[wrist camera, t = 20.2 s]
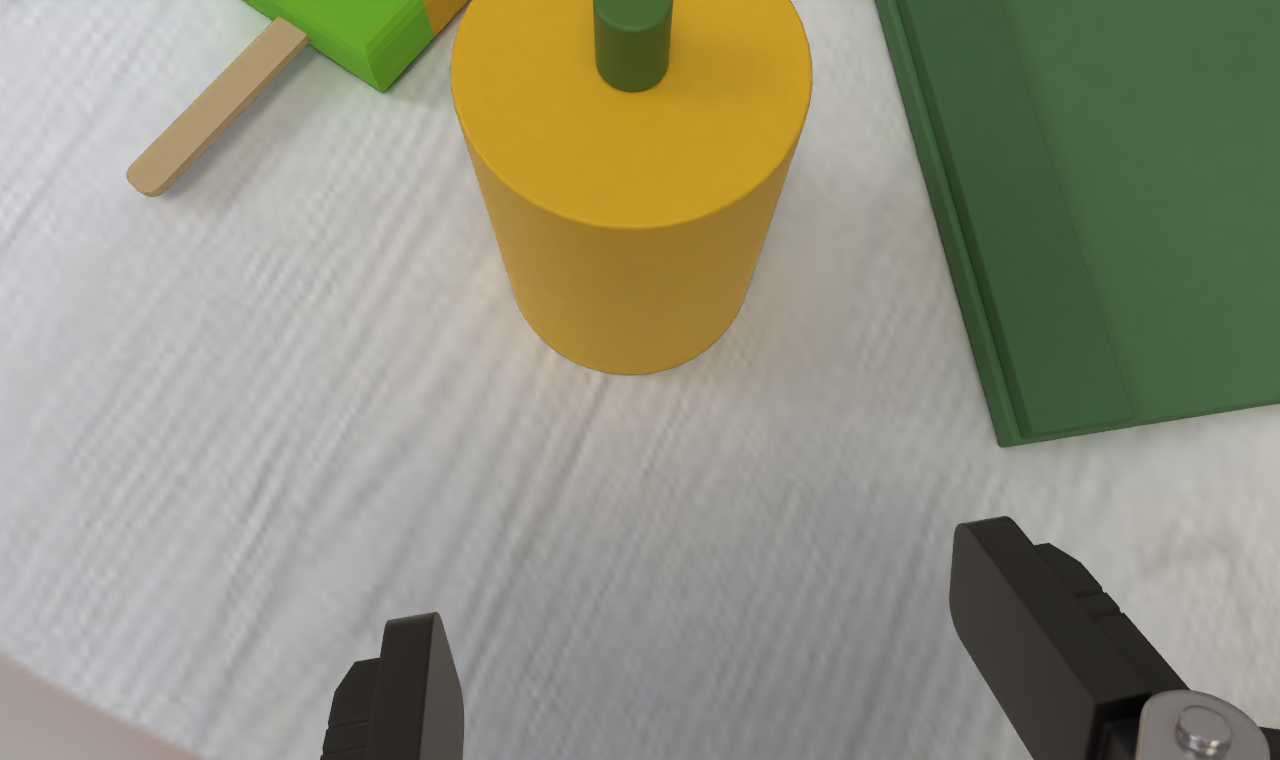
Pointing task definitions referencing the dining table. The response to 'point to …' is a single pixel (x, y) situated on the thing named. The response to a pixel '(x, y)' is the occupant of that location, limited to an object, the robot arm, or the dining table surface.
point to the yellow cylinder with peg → (631, 161)
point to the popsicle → (302, 14)
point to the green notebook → (1103, 200)
